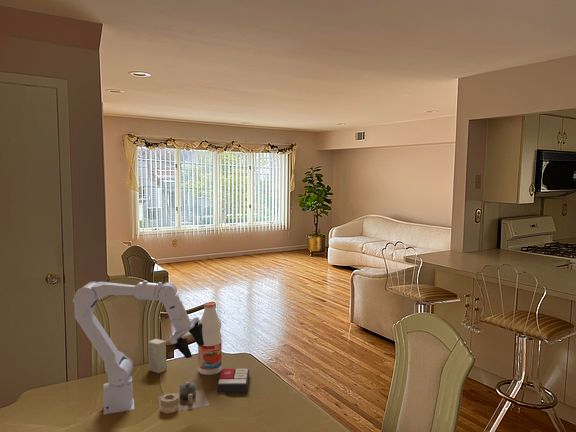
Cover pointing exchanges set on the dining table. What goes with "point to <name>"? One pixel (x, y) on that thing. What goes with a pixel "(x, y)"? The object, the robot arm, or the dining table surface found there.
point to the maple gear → (169, 403)
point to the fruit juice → (210, 342)
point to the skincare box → (157, 355)
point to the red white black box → (233, 381)
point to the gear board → (189, 397)
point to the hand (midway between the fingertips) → (195, 351)
